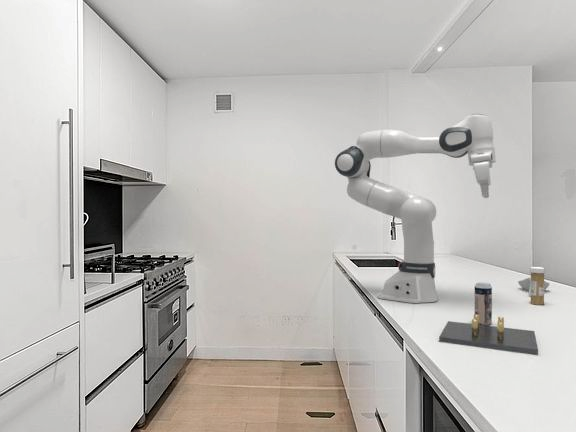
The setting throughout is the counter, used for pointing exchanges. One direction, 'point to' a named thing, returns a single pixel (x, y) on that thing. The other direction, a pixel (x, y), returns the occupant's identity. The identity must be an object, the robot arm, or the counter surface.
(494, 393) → the counter surface
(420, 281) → the robot arm
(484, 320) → the beer can
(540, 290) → the sprinkles bottle
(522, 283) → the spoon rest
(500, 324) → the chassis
